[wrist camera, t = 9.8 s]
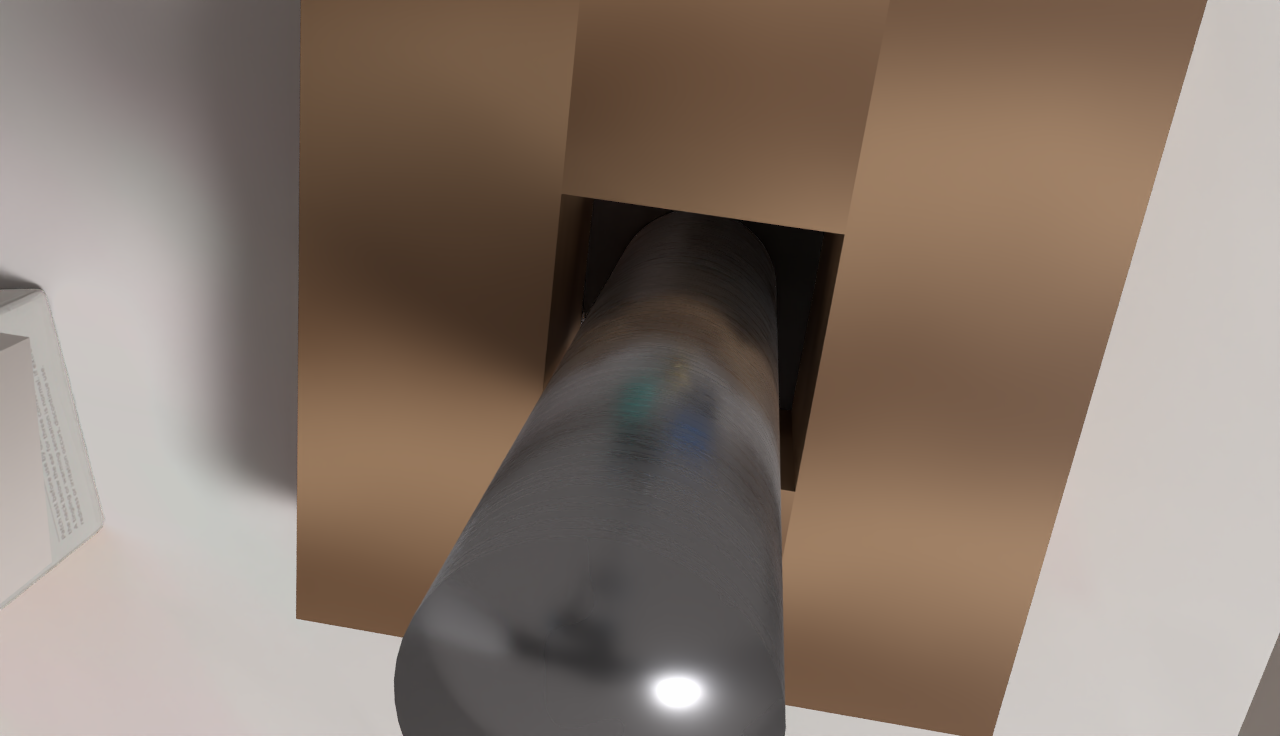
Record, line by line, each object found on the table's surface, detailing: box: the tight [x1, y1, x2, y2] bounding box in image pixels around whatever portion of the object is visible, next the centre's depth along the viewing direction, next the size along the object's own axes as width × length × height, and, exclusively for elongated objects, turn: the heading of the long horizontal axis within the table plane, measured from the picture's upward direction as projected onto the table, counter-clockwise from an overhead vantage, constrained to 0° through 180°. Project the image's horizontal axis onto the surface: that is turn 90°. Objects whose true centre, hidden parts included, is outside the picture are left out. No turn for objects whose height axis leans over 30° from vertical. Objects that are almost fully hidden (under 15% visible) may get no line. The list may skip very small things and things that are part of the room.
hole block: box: [296, 0, 1207, 736], centre depth 20 cm, size 14×14×4 cm
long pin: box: [394, 211, 786, 736], centre depth 16 cm, size 3×3×14 cm
